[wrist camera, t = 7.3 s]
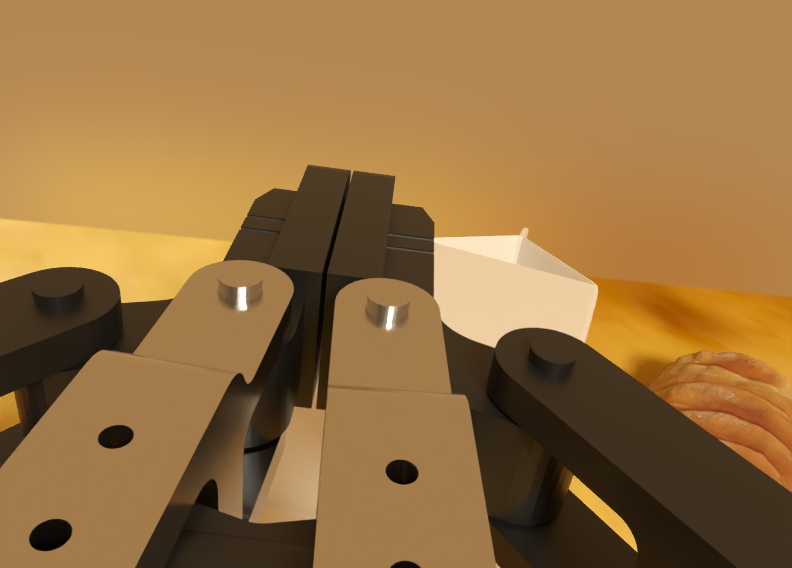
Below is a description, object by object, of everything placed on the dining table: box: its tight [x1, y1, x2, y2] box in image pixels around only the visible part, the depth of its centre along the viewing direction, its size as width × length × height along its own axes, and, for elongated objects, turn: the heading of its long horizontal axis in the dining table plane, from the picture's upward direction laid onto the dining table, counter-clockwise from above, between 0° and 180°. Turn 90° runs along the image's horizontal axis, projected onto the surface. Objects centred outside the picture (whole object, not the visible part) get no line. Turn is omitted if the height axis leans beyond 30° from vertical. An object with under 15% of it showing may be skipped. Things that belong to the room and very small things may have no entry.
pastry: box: [648, 350, 792, 492], centre depth 29 cm, size 9×7×4 cm
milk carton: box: [258, 228, 598, 568], centre depth 24 cm, size 7×7×19 cm
